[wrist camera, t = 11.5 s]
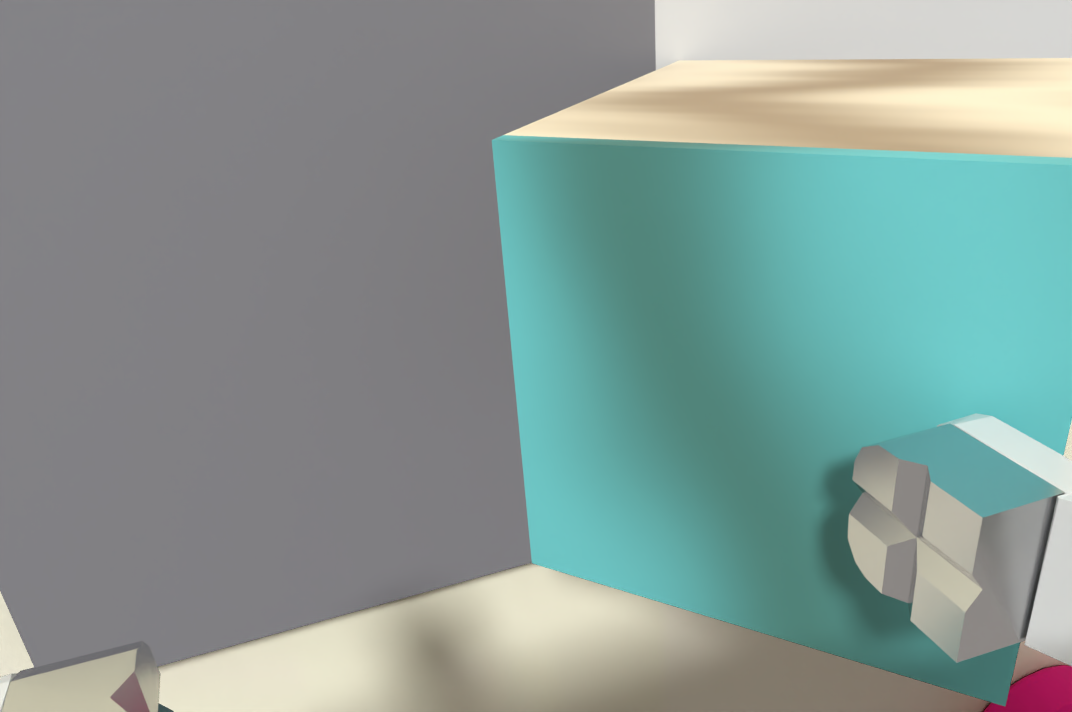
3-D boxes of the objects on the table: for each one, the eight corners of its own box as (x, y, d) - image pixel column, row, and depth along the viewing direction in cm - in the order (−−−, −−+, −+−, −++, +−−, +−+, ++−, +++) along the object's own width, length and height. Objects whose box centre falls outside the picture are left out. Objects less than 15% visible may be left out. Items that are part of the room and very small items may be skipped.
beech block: (491, 139, 11) (679, 60, 17) (531, 563, 14) (679, 379, 20) (1130, 168, 8) (1105, 57, 13) (1005, 705, 11) (1025, 439, 16)
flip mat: (1152, -199, 19) (1197, -207, 18) (1031, 400, 25) (1060, 415, 24) (-284, -126, 12) (-324, -134, 11) (55, 663, 19) (47, 696, 18)
